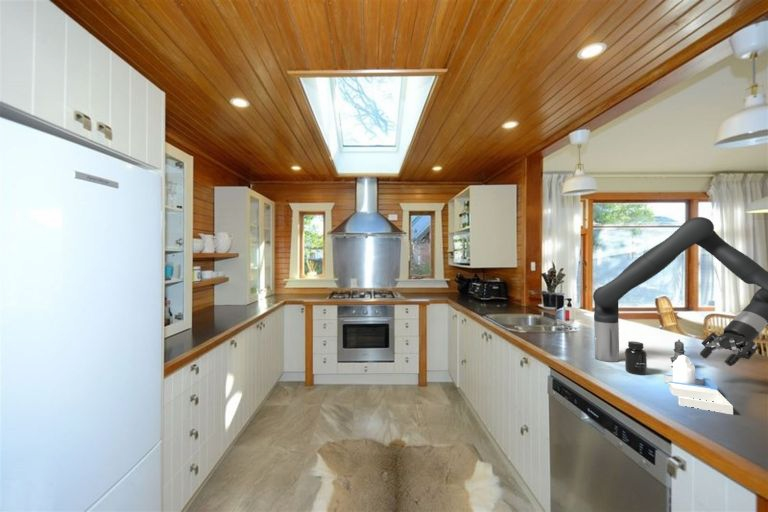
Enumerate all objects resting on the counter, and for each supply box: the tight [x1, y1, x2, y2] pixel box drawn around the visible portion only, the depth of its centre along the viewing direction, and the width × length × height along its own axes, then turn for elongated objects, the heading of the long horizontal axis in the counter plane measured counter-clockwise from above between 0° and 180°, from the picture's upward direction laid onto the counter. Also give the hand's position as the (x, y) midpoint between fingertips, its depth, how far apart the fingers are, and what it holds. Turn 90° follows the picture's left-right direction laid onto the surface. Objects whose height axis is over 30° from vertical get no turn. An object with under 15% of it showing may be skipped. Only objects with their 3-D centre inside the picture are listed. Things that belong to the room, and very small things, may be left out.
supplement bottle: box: [624, 341, 648, 376], centre depth 131 cm, size 7×7×12 cm
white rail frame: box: [663, 374, 734, 415], centre depth 108 cm, size 12×23×4 cm, turn 148°
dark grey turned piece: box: [669, 339, 686, 369], centre depth 135 cm, size 6×6×12 cm
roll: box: [672, 354, 696, 385], centre depth 114 cm, size 6×12×6 cm
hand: (714, 360), depth 114 cm, fingers open, 8 cm apart
